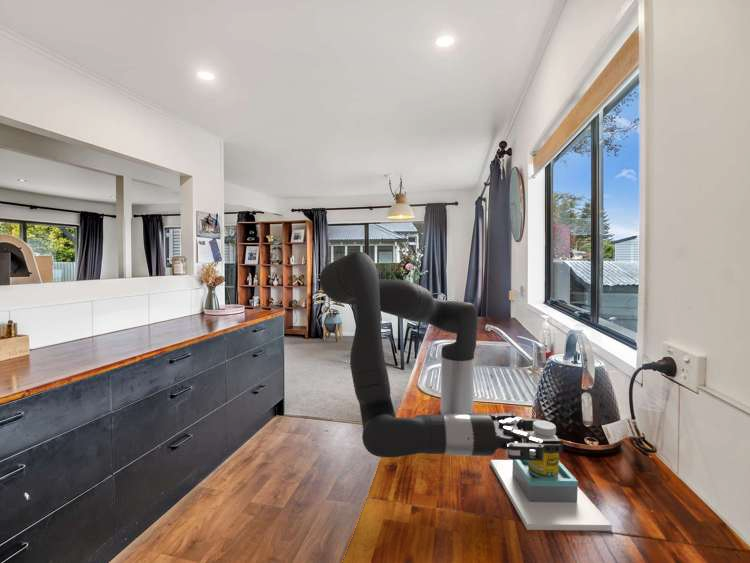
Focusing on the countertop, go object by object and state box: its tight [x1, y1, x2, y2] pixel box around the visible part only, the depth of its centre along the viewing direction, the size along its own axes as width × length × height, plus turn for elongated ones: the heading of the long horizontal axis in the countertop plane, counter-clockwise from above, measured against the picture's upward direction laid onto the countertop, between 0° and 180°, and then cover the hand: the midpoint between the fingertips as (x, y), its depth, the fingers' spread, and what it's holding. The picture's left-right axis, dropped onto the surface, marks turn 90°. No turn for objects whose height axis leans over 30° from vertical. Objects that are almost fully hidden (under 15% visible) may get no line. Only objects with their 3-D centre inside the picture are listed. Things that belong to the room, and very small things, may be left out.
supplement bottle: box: [528, 419, 560, 478], centre depth 71 cm, size 5×5×10 cm
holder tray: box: [490, 459, 613, 532], centre depth 71 cm, size 20×14×5 cm
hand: (551, 434), depth 71 cm, fingers open, 8 cm apart
